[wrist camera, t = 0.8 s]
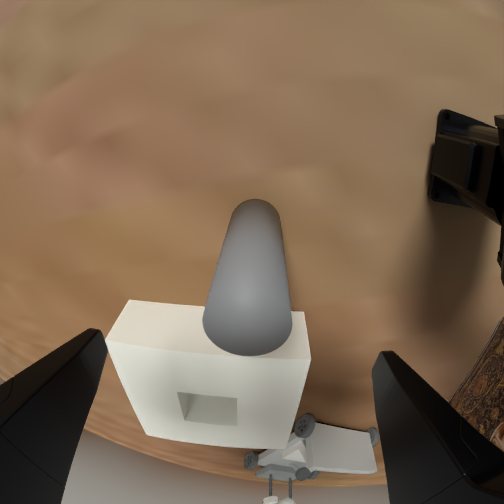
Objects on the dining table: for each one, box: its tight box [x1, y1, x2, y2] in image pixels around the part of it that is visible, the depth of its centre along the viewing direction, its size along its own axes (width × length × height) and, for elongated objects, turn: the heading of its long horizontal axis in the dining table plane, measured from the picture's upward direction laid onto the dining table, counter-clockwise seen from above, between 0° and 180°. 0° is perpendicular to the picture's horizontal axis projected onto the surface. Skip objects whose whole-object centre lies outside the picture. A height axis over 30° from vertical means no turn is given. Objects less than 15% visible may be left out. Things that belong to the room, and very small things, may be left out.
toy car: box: [244, 414, 379, 504], centre depth 29 cm, size 18×10×12 cm
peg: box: [202, 199, 293, 356], centre depth 15 cm, size 3×3×10 cm
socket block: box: [105, 300, 311, 449], centre depth 23 cm, size 14×14×5 cm
